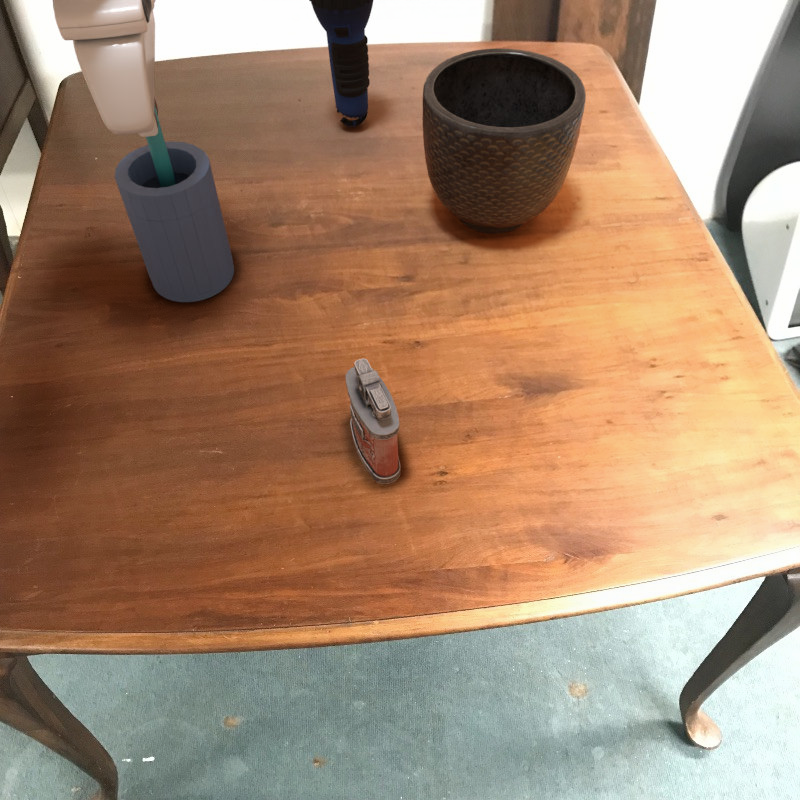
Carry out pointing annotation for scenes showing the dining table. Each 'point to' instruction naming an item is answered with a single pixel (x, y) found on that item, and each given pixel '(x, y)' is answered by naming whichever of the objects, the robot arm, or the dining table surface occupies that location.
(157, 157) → the brush
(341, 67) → the flashlight
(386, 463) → the lighter
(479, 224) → the planter
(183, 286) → the jar
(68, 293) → the dining table surface
